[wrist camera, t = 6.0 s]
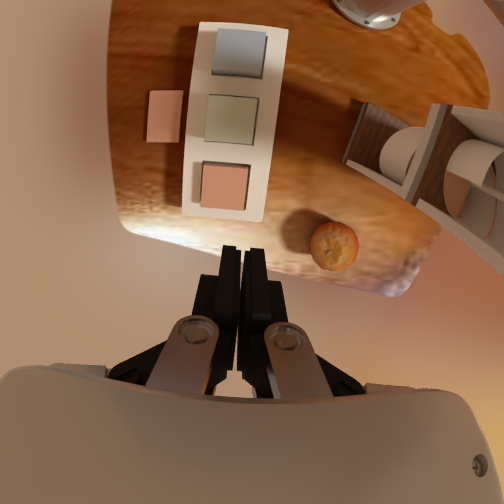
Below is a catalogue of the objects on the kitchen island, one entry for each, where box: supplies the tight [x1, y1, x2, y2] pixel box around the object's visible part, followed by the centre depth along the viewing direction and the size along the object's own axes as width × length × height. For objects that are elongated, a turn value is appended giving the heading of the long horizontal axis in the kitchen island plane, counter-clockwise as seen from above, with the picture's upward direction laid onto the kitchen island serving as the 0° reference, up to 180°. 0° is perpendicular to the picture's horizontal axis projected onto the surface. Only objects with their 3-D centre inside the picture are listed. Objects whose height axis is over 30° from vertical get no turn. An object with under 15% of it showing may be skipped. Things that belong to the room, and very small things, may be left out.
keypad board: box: [182, 22, 288, 222], centre depth 35 cm, size 29×12×3 cm, turn 173°
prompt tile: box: [147, 90, 184, 143], centre depth 35 cm, size 8×5×1 cm, turn 173°
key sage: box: [204, 95, 257, 145], centre depth 32 cm, size 6×6×3 cm
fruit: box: [310, 222, 359, 271], centre depth 43 cm, size 8×8×8 cm
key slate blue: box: [212, 28, 267, 77], centre depth 28 cm, size 6×6×3 cm
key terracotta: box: [201, 161, 248, 211], centre depth 38 cm, size 6×6×3 cm
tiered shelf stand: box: [341, 102, 504, 277], centre depth 23 cm, size 11×11×35 cm
